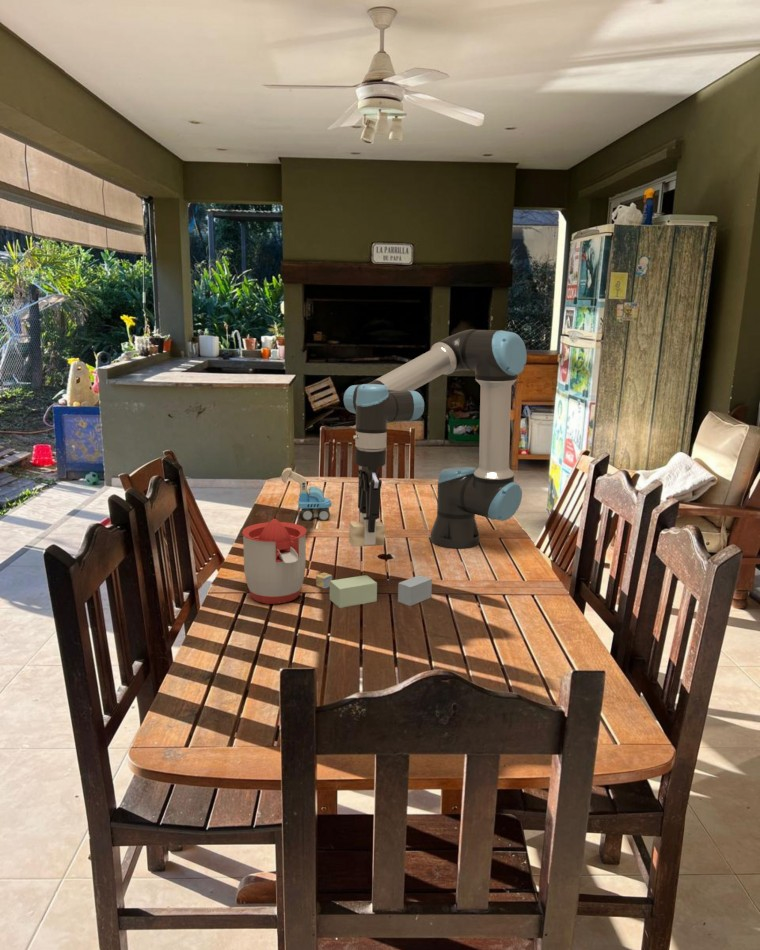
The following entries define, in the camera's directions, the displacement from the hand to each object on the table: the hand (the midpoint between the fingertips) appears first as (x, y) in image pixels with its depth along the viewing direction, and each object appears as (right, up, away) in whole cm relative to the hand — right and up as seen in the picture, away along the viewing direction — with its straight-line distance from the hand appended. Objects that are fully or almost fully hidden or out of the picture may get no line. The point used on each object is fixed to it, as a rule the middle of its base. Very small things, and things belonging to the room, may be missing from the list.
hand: (367, 541), depth 188 cm
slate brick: (+12, -15, 0) cm, 19 cm away
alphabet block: (-11, -12, +8) cm, 19 cm away
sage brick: (-4, -15, -1) cm, 15 cm away
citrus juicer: (-22, -14, 0) cm, 26 cm away
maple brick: (0, -1, 0) cm, 1 cm away
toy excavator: (-22, +2, +69) cm, 72 cm away
